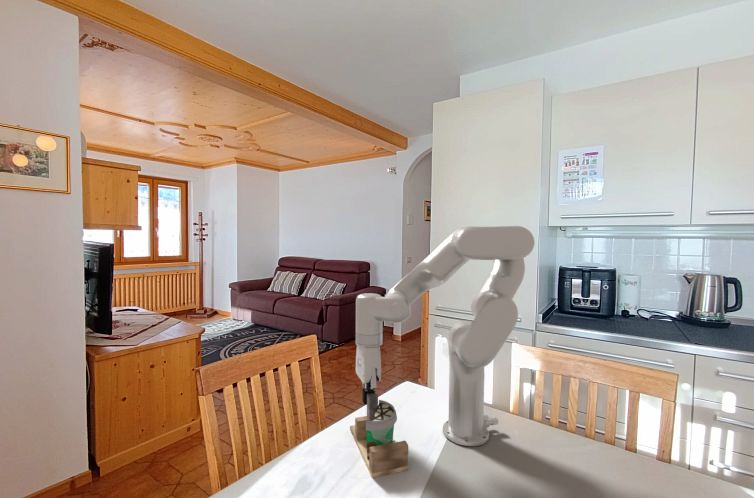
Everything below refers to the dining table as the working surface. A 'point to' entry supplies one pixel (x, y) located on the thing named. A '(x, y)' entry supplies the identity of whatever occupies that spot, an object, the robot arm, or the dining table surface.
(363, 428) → the block
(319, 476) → the dining table surface
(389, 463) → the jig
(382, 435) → the food container
